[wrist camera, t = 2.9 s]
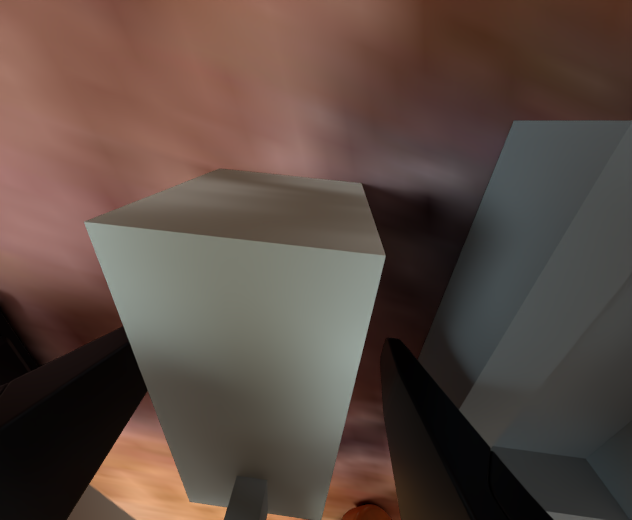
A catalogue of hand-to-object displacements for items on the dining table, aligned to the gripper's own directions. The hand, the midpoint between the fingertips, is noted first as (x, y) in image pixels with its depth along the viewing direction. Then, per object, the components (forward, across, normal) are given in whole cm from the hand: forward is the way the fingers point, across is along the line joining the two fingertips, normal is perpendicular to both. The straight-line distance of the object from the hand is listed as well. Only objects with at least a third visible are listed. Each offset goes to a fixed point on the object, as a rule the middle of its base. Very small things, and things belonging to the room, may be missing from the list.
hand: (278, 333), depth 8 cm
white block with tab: (+1, 0, 0) cm, 1 cm away
